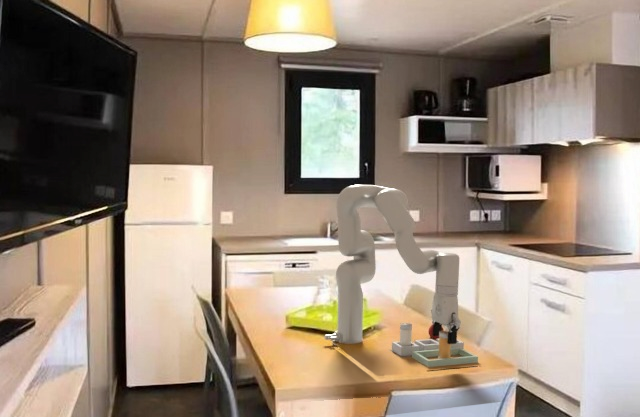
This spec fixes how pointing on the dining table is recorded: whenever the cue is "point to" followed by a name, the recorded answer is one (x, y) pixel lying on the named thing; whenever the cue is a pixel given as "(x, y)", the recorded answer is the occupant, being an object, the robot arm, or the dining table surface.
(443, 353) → the marked fuse
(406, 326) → the cylinder
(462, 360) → the tray
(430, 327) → the onion
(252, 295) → the dining table surface
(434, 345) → the fuse holder
